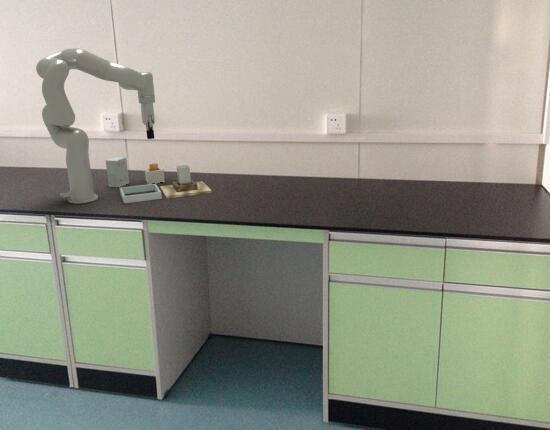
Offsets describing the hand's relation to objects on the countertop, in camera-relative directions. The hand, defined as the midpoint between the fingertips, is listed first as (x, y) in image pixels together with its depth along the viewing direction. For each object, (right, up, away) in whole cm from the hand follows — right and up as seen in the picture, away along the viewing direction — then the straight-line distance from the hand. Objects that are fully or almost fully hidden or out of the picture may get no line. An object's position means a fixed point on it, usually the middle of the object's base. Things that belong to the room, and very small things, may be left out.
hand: (150, 138), depth 262 cm
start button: (+1, -15, +5) cm, 16 cm away
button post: (+1, -20, +7) cm, 21 cm away
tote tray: (0, -28, -18) cm, 33 cm away
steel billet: (+18, -24, -12) cm, 33 cm away
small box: (-16, -22, +2) cm, 27 cm away
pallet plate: (+18, -25, -12) cm, 33 cm away
